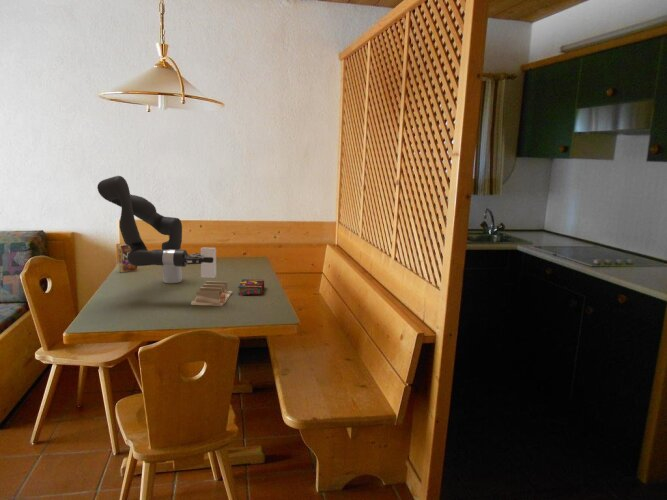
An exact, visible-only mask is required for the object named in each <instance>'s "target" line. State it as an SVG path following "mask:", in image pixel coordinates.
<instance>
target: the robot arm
mask: <svg viewBox="0 0 667 500" xmlns="http://www.w3.org/2000/svg"><path fill="white" fill-rule="evenodd" d="M96 189H97V191H98V193H99V195H100V196H101V197H102V198H103V199H104V200H106V201H107V202H110V203H112V204H115V205H116V206H118V207H119V208H121V213H120V219H119V229H120V230H119V231H120V233H121V237H122V238H123V242H124V244H126V245H129V246H130V248H131V250H132V251H131V252H130V253H129V254H128V257H127V259H128V262H129V263H130V264H132V265H134V266H137V267H143V266H145V267H147V266H153V265H154V266H162V282H163V283H164V284H177V283H181V282H182V281H183V279H182V277H183V275H182V274H183V273H182V268H183V267H184V268H185V267H186V266H187V265H189V266H190V265H201V264H202V263H212V262H213V258H209V257H201V252H200V253H198V252H196V253H190V254H189V253H188V251H187V250H186V249H182V248H181V247H182V243H183V224H182V223H183V222H182V221H181V219H180V218H178V217H173V216H172V217H171V216H164V215H162V214H160V213H158V212H157V208H156V206H155V204H154V203H152V202H151V201H149V200H148V199H146V198H145V197H143V196H139V195H135V194H131V192H130V187H129V184H128V182H127V180H126V179H125V177H123V176H122V175H115V176H112V177H108V178H105V179H102V180H100V181H99V182H98V184H97V187H96ZM135 217H136V218H137V219H139V220H141V221H143V222H144V223H146V224H148V225H149V226H151V227H152V228H154V230H156V231H157V232H158V233H159V234H161V235H163V236H168V240H167V241H164V242H162V243H161V249H152V250H148V248H147V245H146V244H145V242H144V241H143V240H142V237H141V234H140V231H139V229H138V225H137V222H136V219H135Z"/></svg>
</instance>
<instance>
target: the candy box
mask: <svg viewBox="0 0 667 500" xmlns="http://www.w3.org/2000/svg"><path fill="white" fill-rule="evenodd" d="M117 248H118V249H117V250H118V251H117V252H118V272H120V273H122V272H123V273H128V272H134V271H135V272H137V271H138V266H134V265H132V264H130V263H129V262H128V259H127V257H128V254H129V253H130V252H131V251H132V250H131V248H130V246H129V245H126V244H125V243H121V244H118V245H117Z"/></svg>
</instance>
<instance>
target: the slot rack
mask: <svg viewBox="0 0 667 500" xmlns="http://www.w3.org/2000/svg"><path fill="white" fill-rule="evenodd" d="M228 290H229V289H228V281H214V280H212V281H211V280H206V281H205V283H203V284H202V286H201V287H199V290H195V296H196V297H195V298H194V299H192V301H191V302H190V305H192V306H215V307H216V306H217V307H218V306H219V307H223V306H224V305H225V303H226V302H227V301H228V299H230V298H231V296H232V294H233V291H231V290H229V291H228Z"/></svg>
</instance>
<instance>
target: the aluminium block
mask: <svg viewBox="0 0 667 500" xmlns="http://www.w3.org/2000/svg"><path fill="white" fill-rule="evenodd" d="M200 254H201V257H209V258H213V262H212V263H202V264H200V278H209V279H210V278H213V279H214V278H217V248H216V247H205V246H204V247H201V248H200Z"/></svg>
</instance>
